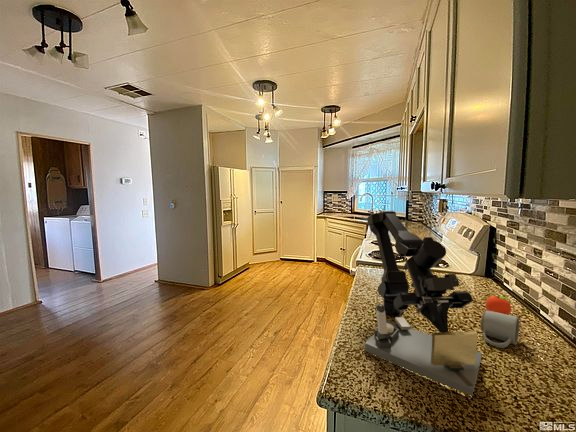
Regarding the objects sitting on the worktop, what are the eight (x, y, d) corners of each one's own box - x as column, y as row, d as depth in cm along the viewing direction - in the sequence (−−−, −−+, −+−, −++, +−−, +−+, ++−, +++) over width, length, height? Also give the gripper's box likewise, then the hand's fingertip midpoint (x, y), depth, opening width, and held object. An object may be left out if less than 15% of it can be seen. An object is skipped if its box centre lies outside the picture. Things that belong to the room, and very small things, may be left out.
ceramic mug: (484, 327, 80) (485, 304, 79) (518, 338, 74) (520, 313, 73) (476, 341, 73) (477, 316, 72) (513, 354, 67) (515, 328, 66)
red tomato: (507, 312, 89) (508, 293, 89) (519, 322, 83) (520, 301, 82) (481, 309, 92) (482, 291, 91) (490, 319, 85) (492, 299, 84)
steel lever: (377, 338, 68) (373, 304, 70) (386, 338, 68) (383, 304, 70) (380, 340, 66) (376, 305, 68) (390, 340, 66) (386, 304, 68)
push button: (383, 326, 74) (383, 321, 74) (395, 331, 72) (395, 326, 72) (378, 331, 72) (378, 326, 72) (390, 336, 69) (390, 331, 69)
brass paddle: (428, 362, 60) (429, 330, 59) (468, 360, 60) (470, 329, 60) (436, 371, 57) (437, 337, 56) (478, 369, 57) (480, 336, 57)
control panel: (387, 327, 80) (387, 315, 80) (480, 361, 64) (482, 346, 64) (364, 351, 69) (365, 336, 68) (472, 400, 52) (473, 381, 52)
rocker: (394, 320, 78) (395, 317, 77) (403, 319, 78) (403, 317, 77) (401, 329, 73) (402, 326, 73) (410, 329, 73) (410, 326, 73)
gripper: (400, 263, 64) (422, 326, 54) (470, 261, 65) (505, 324, 55) (386, 281, 73) (403, 339, 63) (448, 280, 74) (475, 337, 64)
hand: (445, 335), depth 61 cm, fingers closed
